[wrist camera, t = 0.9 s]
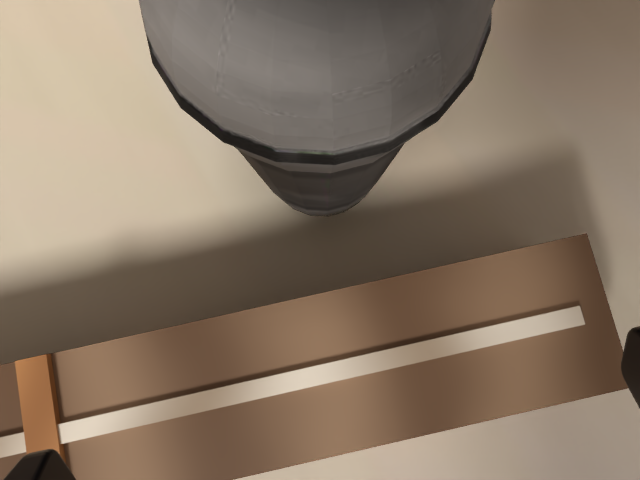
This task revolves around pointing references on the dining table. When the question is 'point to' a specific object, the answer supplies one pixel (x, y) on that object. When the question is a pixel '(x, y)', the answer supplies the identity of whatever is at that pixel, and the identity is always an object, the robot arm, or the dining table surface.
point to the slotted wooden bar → (322, 371)
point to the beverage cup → (317, 82)
